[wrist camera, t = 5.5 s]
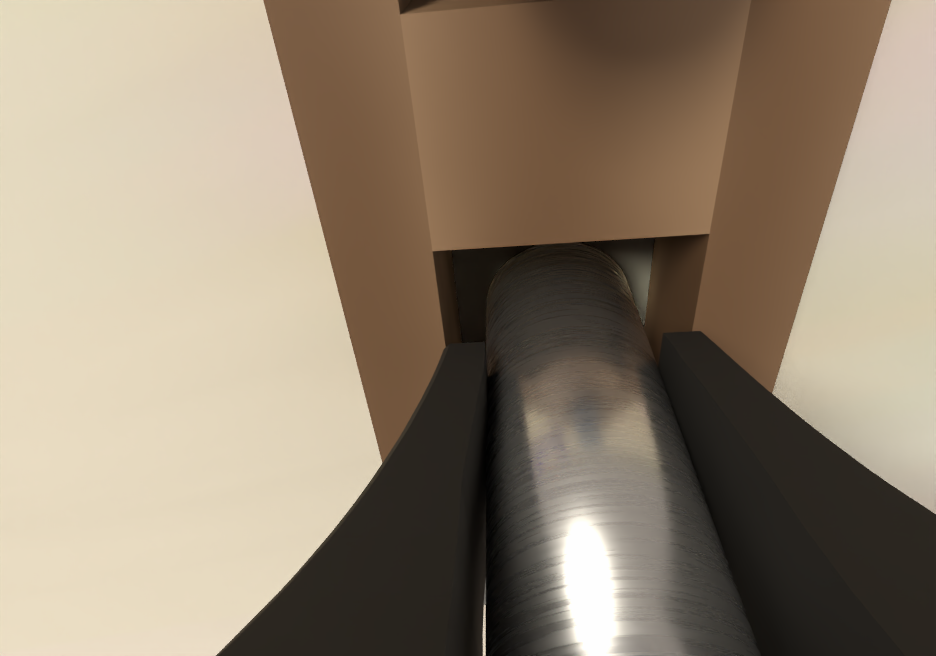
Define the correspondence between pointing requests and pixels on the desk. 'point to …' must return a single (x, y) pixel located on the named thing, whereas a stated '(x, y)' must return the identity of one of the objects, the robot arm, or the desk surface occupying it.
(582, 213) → the walnut hole block
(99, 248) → the desk surface
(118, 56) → the desk surface
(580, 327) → the steel pin
